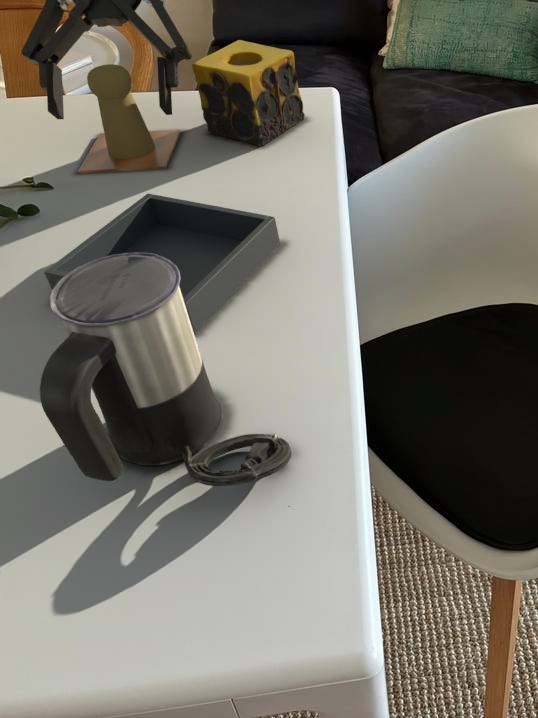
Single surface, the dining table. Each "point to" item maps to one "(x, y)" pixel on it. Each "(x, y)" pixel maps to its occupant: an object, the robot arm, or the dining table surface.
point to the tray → (185, 248)
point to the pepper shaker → (119, 112)
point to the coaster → (154, 160)
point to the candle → (249, 92)
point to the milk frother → (139, 377)
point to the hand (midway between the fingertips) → (111, 113)
